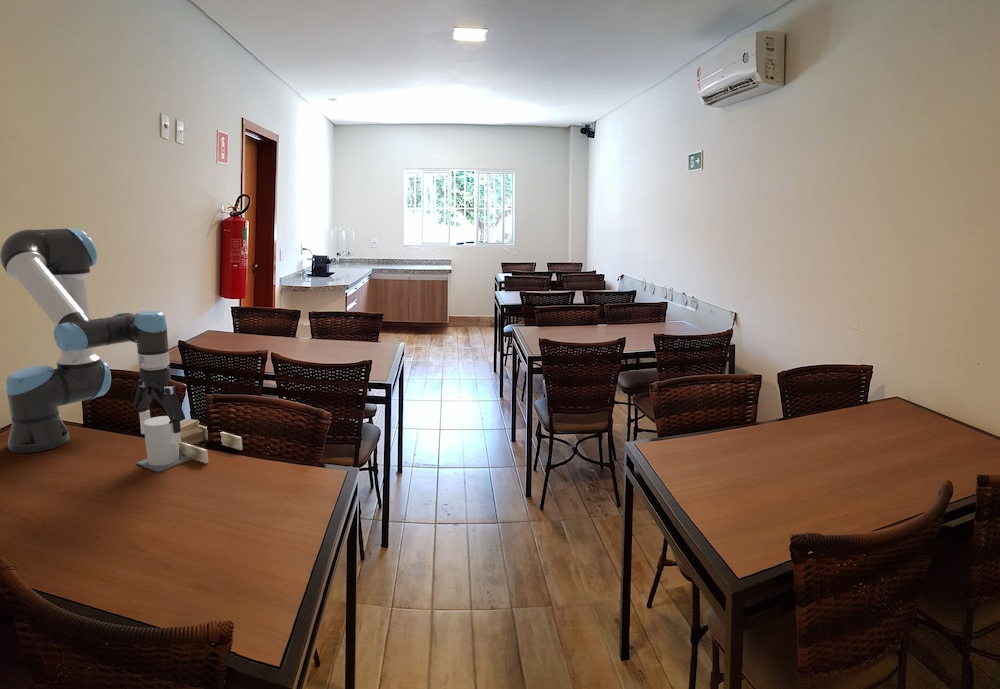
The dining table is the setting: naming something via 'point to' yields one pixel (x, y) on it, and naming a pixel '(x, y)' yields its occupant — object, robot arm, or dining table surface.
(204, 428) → the rack
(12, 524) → the dining table surface
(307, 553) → the dining table surface
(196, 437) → the offcut low
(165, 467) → the mat
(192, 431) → the offcut top
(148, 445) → the cup
